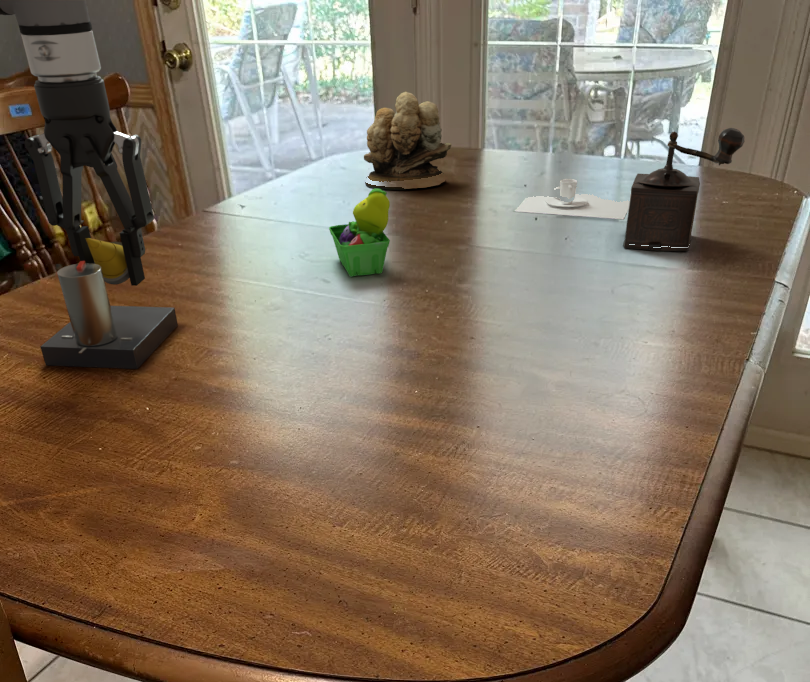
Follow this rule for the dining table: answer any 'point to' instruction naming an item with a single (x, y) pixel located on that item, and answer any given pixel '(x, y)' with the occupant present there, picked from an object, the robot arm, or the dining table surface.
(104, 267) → the yellow ridged cone
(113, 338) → the shiny metal cylinder
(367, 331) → the dining table surface
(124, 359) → the dial base
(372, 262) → the fruit basket
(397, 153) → the owl figurine
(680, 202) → the manual coffee grinder
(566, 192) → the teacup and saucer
